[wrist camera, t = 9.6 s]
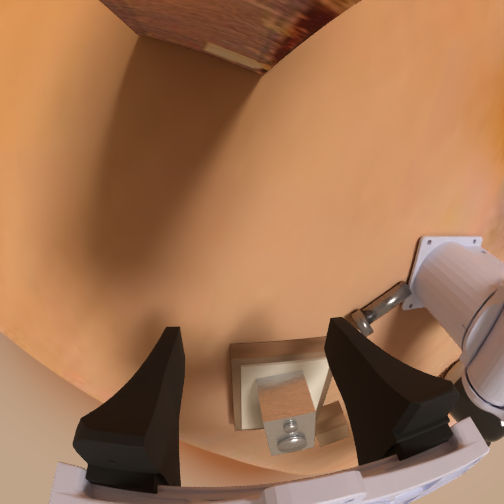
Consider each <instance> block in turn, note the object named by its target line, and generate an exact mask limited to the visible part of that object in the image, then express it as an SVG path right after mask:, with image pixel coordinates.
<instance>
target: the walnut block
mask: <svg viewBox="0 0 504 504" xmlns="http://www.w3.org/2000/svg"><path fill="white" fill-rule="evenodd" d="M315 434H316V437H317V440H318V442H319V445H320V447H321V446H324V445H327V444H330V443H333V442H336V441H338V440H341V439H344V438H347V437H349V430H348V424H347V422H346V419H345V416H344V414H343V411H342V409H341V406H340V403H339V401H336V402H333V403H331V404H328V405H325V406H322V409H321V412H320V415H319V417H318V420H317V422H315Z"/></svg>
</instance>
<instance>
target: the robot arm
mask: <svg viewBox="0 0 504 504" xmlns="http://www.w3.org/2000/svg"><path fill="white" fill-rule="evenodd" d="M428 241H429V242H428ZM427 242H428V243H427ZM481 244H482V237H480V236H423V237H422V238H421V239H420V241H419V245H418V249H417V254H416V257H415V261H414V265H413V269H412V272H411V276H410V280H409V283H408V287H409V288H410V290H411V293H412V295H410V296H409V297H408V298H406V299H405V300H404V301H403V303H402V306H401V307H402V309H403V310H411V309H417V308H423V307H425V308H426V309H427V310H428V311H429V312H430V313H431V314H432V315H433V317H434V318H435V319H436V320H437V321H438V322H439V323H440V325H441V326H442V327H443V328H444V329H445V330H446V332H447V333H448V334H449V335H450V336H451V338H452V339H453V340H454V341H455V342H456V344H457V345H458V346H459V347H460V348H461V350H462V353H461V355H460V357H459V359H460V361H461V362H462V363H463V365H464V366H465V367H464V369H463V371H462V383H463V386H464V389H465V391H466V393H467V395H468V397H469V398H470V400H471V401H472V402H473V403H474V404H475V405H476V406H477V407H479V408H480V409H482V410H484V411H487V412H490V413H492V414H494V415H495V416H497V417H498V418H500V419H501V420H502V421H503V422H504V263H503V262H502V261H501V260H499V259H498V258H496V257H495V256H494V255H492V254H491V253H489V252H488V251H487V250H485V249H484V248H482V247H481ZM324 351H325V354H326V358H327V362H328V365H329V368H330V370H331V372H332V375H333V377H334V380H335V382H336V384H337V386H338V389H339V391H340V393H341V396H342V398H343V401H344V403H345V406H346V409H347V413H348V416H349V420H350V424H351V428H352V432H353V436H354V441H355V446H356V451H357V458H358V464H359V466H357V467H354V468H350V469H346V470H342V471H338V472H334V473H330V474H325V475H320V476H315V477H310V478H304V479H298V480H292V481H285V482H278V483H269V484H260V485H249V486H232V487H181V480H180V464H179V413H180V406H181V398H182V391H183V384H184V377H185V354H184V349H183V343H182V337H181V332H180V327H166V328H165V330H164V332H163V333H162V335H161V337H160V339H159V340H158V342H157V344H156V345H155V347H154V349H153V350H152V352H151V353H150V355H149V356H148V358H147V359H146V360H145V362H144V363H143V364H142V366H141V367H140V368H139V370H138V371H137V372H136V373H135V374H134V376H133V377H132V378H131V379H130V380H129V381H128V382H127V383H126V384H125V385H124V386H123V387H122V388H121V389H120V390H119V391H118V392H117V393H116V394H115V395H114V396H113V397H111V398H110V399H109V400H107V401H106V402H105V403H104V404H102V405H101V406H100V407H98V408H97V409H95V410H94V411H92V412H90V413H89V414H87V415H86V416H84V417H82V418H81V419H80V422H79V424H78V426H77V429H76V433H75V436H74V440H73V447H74V449H75V450H76V452H77V453H78V454H79V455H80V456H81V457H82V458H83V459H84V460H85V461H86V462H87V463H88V468H87V470H86V469H84V468H82V467H79V466H75V465H71V464H67V463H63V462H58V463H57V467H56V471H55V476H54V480H53V484H52V489H51V494H50V499H49V504H409V503H411V502H413V501H415V500H417V499H419V498H421V497H423V496H425V495H427V494H429V493H430V492H432V491H434V490H436V489H438V488H440V487H441V486H443V485H445V484H447V483H448V482H450V481H452V480H454V479H456V478H457V477H459V476H461V475H462V474H464V473H465V472H466V471H467V470H469V469H470V468H471V467H472V466H474V465H475V464H476V463H477V462H478V461H479V460H481V459H482V458H483V457H484V456H485V455H486V454H487V453H488V452H489V451H490V449H489V447H488V446H487V444H486V442H485V441H484V439H483V437H482V436H481V434H480V432H479V431H478V429H477V427H476V426H475V424H474V422H473V421H472V419H471V418H470V417H467V418H465V419H463V420H462V421H460V422H458V423H456V424H454V425H453V426H451V427H449V425H448V424H447V423H449V422H450V419H449V418H448V416H447V415H448V414H449V412H450V411H451V410H452V408H453V407H454V406H455V404H456V403H457V401H458V399H459V396H460V394H459V392H458V390H457V389H456V387H455V386H454V384H453V383H452V381H450V380H446V379H442V378H439V377H435V376H432V375H430V374H427V373H424V372H422V371H419V370H417V369H415V368H413V367H411V366H408V365H406V364H405V363H403V362H401V361H399V360H397V359H396V358H394V357H392V356H391V355H389V354H388V353H386V352H385V351H383V350H382V349H381V348H379V347H378V346H376V345H375V344H374V343H373V342H371V341H370V340H369V339H368V338H366V337H365V336H364V335H363V334H362V333H360V332H359V331H358V330H357V329H356V328H354V327H353V326H352V325H351V324H350V323H349V322H347V321H346V320H345V319H344V318H343V317H337V318H330V323H329V328H328V332H327V337H326V341H325V346H324Z"/></svg>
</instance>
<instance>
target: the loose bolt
mask: <svg viewBox="0 0 504 504" xmlns="http://www.w3.org/2000/svg"><path fill="white" fill-rule="evenodd" d="M410 295H412V293H411V290H410V288H409V287H408V285H407V284H406V283H405V282H404V281H402V282H401V283H399V284H398V285H397V286H395V287H394V288H392V289H391V290H390V291H388V292H387V293H385V294H384V295H383V296H381V297H380V298H378V299H377V300H376V301H374V302H373V303H371V304H370V305H368V306H367V307H365V308H364V309H362V310H360V309H359V310H357V311H356V312H354V313H353V314H351V316H352V318H353V320H354V321H355V323H356V325H357V326H358V328H359V330H360V331H361V333H362V334H363V335H364V336H365V337H367V336H369V335H370V334H372V333H373V330H372V328H371V326H370V324H371V323H372V322H374V321H375V320H377V319H378V318H380V317H381V316H383V315H384V314H386V313H387V312H388V311H390V310H391V309H393V308H394V307H395V306H397V305H398V304H400V303H401V302H402V301H404V300H405V299H406V298H408V297H409V296H410Z"/></svg>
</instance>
